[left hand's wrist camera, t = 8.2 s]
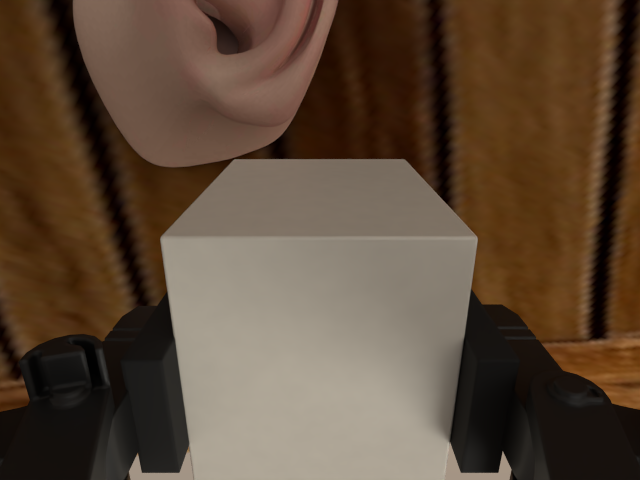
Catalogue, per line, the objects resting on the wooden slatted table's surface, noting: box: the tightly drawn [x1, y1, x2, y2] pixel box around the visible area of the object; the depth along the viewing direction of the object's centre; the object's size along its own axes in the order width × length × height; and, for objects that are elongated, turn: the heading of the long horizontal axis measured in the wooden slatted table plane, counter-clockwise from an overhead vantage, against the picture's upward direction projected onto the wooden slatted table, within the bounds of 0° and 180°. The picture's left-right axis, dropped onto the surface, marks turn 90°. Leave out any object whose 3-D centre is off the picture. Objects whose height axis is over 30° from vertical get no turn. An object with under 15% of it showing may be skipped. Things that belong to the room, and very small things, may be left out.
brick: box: [160, 159, 478, 480], centre depth 12 cm, size 6×7×7 cm
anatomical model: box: [73, 0, 338, 167], centre depth 18 cm, size 13×4×12 cm
